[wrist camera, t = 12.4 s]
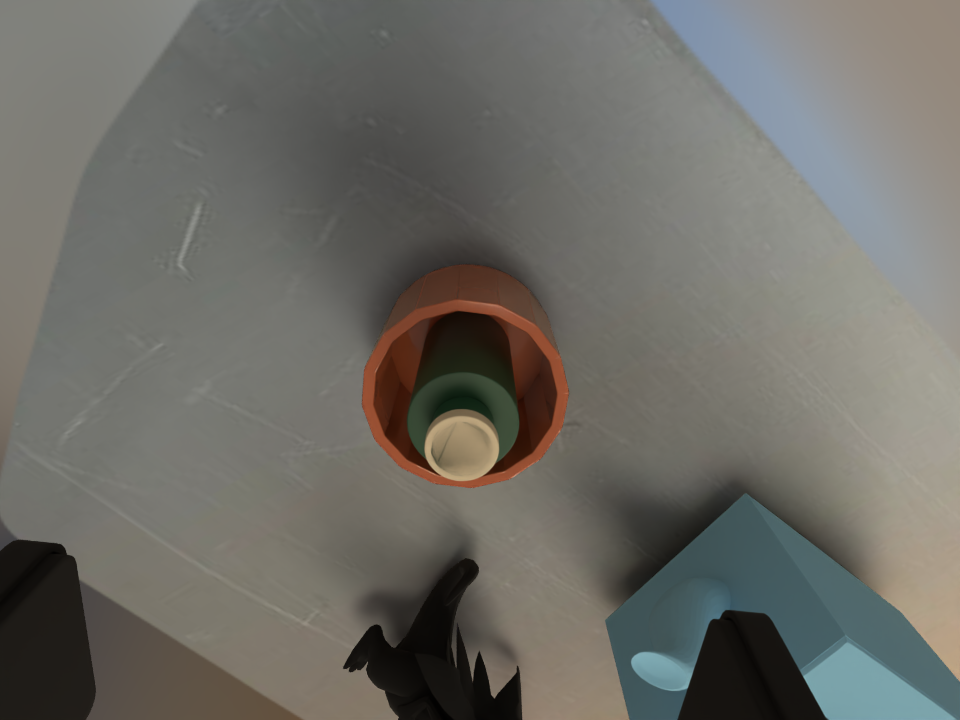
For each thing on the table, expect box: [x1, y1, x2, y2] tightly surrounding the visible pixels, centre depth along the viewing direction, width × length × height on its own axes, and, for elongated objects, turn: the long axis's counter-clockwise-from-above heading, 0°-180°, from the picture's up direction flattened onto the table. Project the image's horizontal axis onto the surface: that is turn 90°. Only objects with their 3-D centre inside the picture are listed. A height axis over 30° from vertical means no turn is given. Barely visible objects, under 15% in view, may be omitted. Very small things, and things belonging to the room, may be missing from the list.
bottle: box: [407, 311, 519, 481], centre depth 27 cm, size 4×4×10 cm
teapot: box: [605, 493, 960, 720], centre depth 32 cm, size 22×11×14 cm, turn 52°
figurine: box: [343, 558, 522, 720], centre depth 35 cm, size 16×13×11 cm
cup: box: [362, 264, 569, 488], centre depth 30 cm, size 9×9×6 cm
